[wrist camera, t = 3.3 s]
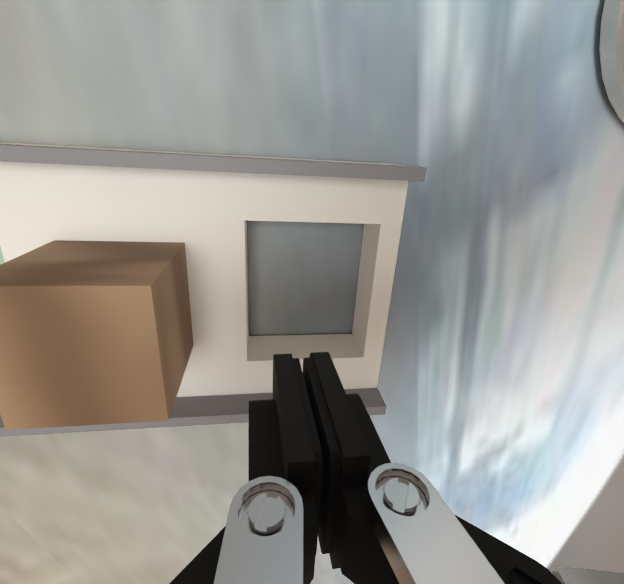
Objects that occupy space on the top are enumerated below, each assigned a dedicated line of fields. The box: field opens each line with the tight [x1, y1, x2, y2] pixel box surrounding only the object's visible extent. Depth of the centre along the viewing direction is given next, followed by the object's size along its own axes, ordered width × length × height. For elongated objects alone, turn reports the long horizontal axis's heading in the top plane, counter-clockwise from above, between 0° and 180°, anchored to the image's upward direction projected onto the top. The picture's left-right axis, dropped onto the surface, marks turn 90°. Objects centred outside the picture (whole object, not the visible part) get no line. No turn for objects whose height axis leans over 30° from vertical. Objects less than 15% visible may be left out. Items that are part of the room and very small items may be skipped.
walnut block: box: [0, 240, 194, 430], centre depth 13 cm, size 5×5×5 cm
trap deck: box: [0, 142, 426, 437], centre depth 15 cm, size 30×12×4 cm, turn 87°
